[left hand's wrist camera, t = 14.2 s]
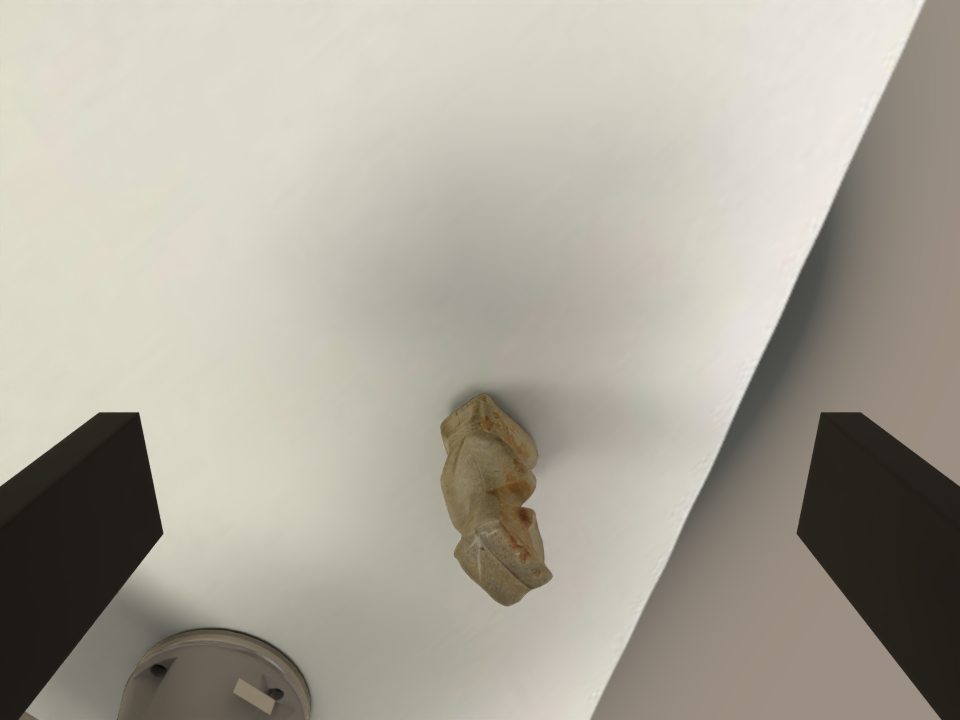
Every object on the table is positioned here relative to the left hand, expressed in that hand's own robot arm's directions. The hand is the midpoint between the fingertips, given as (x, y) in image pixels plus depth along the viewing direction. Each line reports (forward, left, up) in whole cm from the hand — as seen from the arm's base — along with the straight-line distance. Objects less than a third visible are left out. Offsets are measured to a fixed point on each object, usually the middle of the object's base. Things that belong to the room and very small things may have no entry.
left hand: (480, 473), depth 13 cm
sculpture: (-14, -4, -31) cm, 34 cm away
